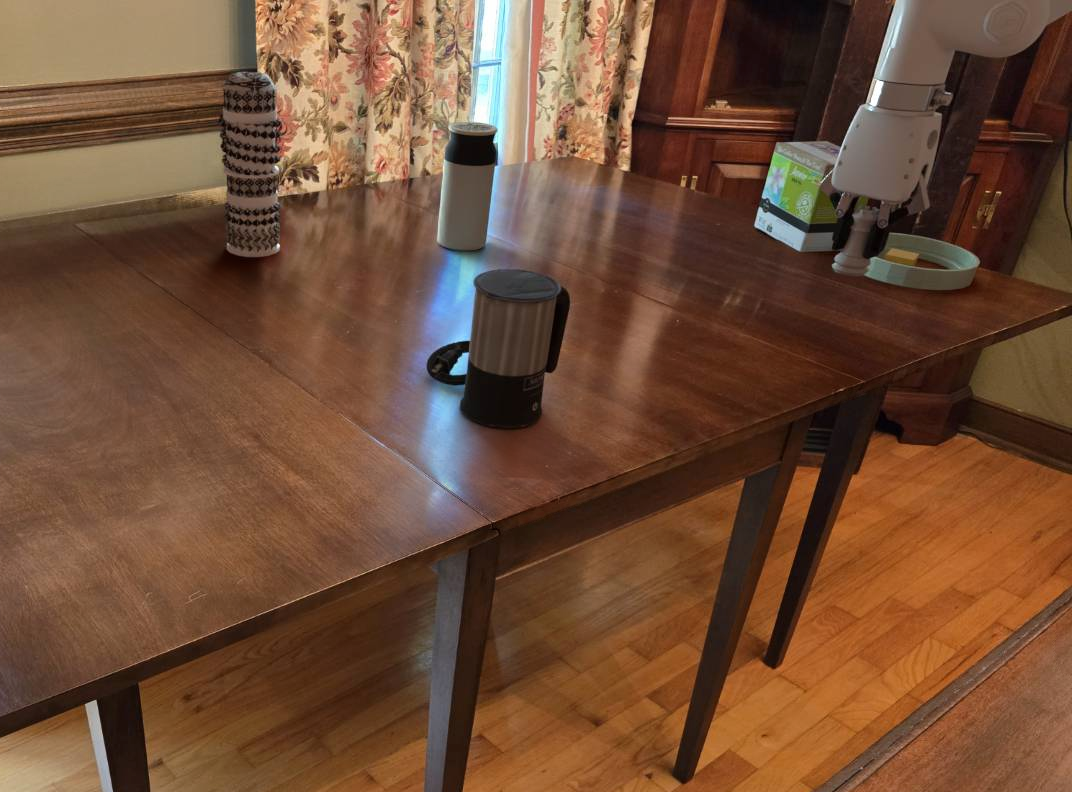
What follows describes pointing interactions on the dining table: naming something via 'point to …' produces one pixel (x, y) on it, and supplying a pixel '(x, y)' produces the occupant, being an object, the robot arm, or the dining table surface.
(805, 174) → the tea box
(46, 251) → the dining table surface
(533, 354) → the milk frother
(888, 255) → the decorative block
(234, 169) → the decorative candle
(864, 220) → the rook chess piece
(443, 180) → the travel mug
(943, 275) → the pale green round tray
